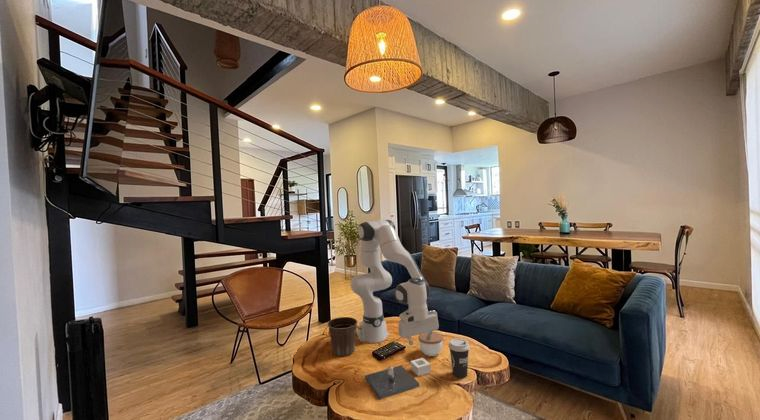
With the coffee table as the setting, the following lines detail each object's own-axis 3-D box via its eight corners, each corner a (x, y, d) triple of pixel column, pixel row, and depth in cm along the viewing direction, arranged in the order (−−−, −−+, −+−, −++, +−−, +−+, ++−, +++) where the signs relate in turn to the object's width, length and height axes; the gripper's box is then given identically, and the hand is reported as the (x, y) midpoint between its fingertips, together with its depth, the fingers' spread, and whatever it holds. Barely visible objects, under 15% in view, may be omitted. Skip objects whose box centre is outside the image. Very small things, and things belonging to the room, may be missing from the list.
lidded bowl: (436, 361, 161) (435, 340, 160) (414, 355, 168) (413, 334, 168) (447, 351, 171) (446, 330, 170) (426, 345, 178) (425, 326, 178)
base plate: (364, 378, 149) (364, 363, 148) (401, 368, 156) (400, 353, 156) (379, 399, 133) (378, 382, 133) (419, 386, 141) (418, 370, 140)
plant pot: (361, 344, 183) (359, 316, 183) (356, 358, 167) (354, 328, 167) (333, 344, 185) (331, 316, 184) (325, 358, 169) (323, 328, 168)
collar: (410, 369, 155) (410, 361, 155) (423, 365, 157) (422, 357, 157) (418, 376, 148) (417, 367, 148) (430, 372, 151) (430, 364, 151)
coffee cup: (455, 381, 143) (454, 348, 142) (445, 370, 152) (444, 339, 151) (474, 377, 145) (473, 344, 145) (463, 366, 155) (462, 336, 154)
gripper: (433, 307, 159) (434, 335, 159) (396, 315, 151) (397, 344, 151) (440, 311, 153) (442, 340, 153) (402, 319, 145) (404, 350, 145)
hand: (419, 342), depth 152 cm, fingers open, 8 cm apart
